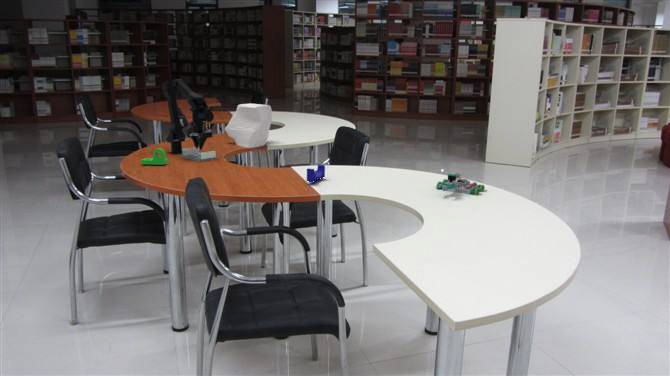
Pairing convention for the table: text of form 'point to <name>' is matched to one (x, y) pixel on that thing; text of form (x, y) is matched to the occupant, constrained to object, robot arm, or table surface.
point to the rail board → (198, 155)
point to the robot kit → (459, 185)
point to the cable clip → (316, 173)
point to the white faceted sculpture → (250, 125)
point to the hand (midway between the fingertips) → (198, 149)
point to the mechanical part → (156, 158)
